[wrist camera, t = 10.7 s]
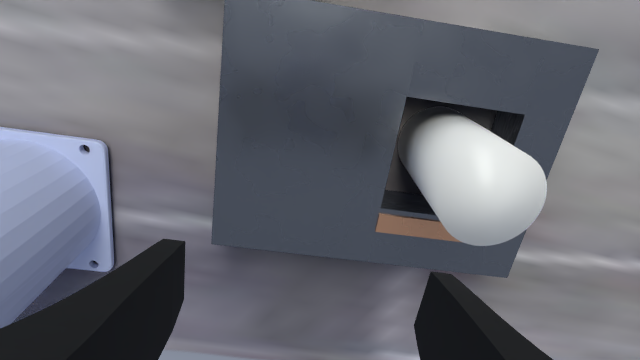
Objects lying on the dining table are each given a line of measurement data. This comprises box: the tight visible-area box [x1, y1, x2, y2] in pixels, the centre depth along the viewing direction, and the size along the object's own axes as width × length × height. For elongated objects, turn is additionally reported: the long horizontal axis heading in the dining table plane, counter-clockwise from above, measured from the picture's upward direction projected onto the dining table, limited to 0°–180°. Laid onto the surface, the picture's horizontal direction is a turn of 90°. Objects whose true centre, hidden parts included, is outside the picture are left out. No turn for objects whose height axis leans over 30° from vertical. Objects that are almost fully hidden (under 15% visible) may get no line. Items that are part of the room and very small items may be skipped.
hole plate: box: [212, 0, 599, 278], centre depth 19 cm, size 16×12×3 cm
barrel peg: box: [398, 106, 547, 246], centre depth 17 cm, size 4×4×7 cm
